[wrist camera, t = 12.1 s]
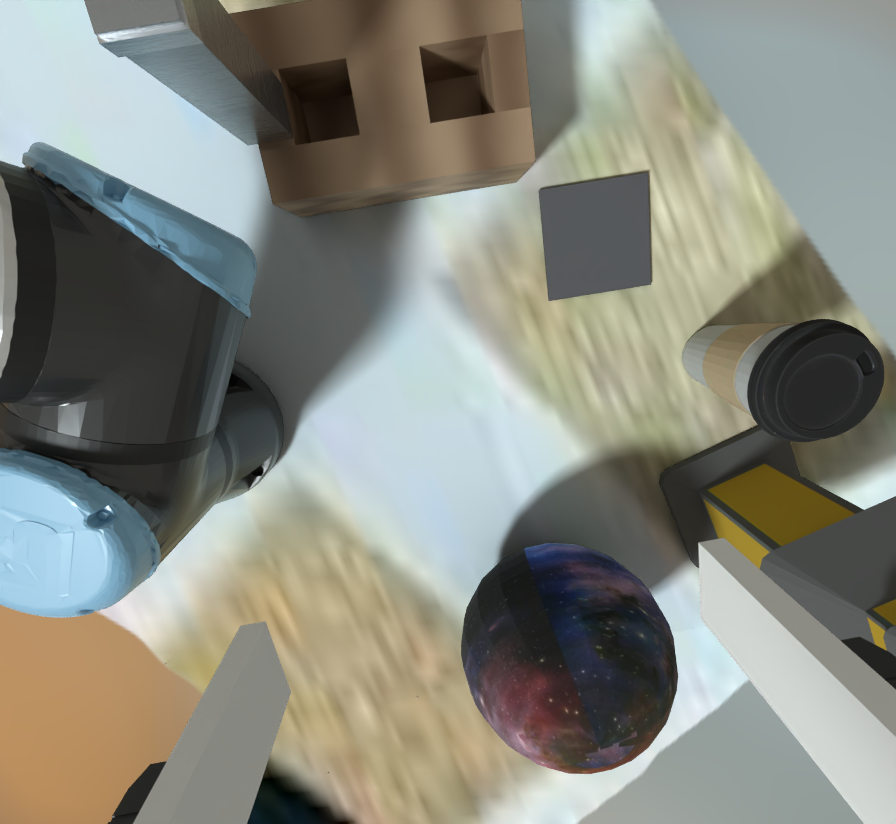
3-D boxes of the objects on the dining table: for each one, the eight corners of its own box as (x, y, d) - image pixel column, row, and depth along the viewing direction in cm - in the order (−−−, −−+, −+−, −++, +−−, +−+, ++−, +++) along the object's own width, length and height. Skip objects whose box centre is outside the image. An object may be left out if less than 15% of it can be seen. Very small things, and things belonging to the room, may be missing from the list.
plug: (246, 148, 34) (92, 39, 18) (231, 89, 32) (55, -78, 17) (296, 139, 34) (184, 23, 18) (283, 81, 32) (153, -95, 17)
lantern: (808, 519, 54) (1248, 800, 25) (694, 569, 55) (988, 891, 26) (776, 417, 50) (1250, 608, 21) (655, 473, 51) (946, 726, 22)
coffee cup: (772, 331, 47) (923, 354, 33) (721, 412, 49) (841, 467, 35) (695, 292, 46) (818, 299, 31) (646, 377, 48) (740, 420, 34)
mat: (548, 300, 45) (549, 300, 45) (538, 190, 42) (539, 189, 42) (649, 284, 45) (651, 284, 45) (645, 173, 42) (647, 172, 42)
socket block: (301, 217, 42) (272, 204, 35) (265, 60, 39) (225, 7, 31) (516, 182, 42) (535, 161, 35) (499, 21, 39) (517, -42, 31)
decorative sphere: (620, 639, 57) (717, 821, 38) (460, 653, 57) (476, 844, 38) (626, 501, 52) (742, 632, 33) (449, 515, 52) (462, 657, 32)
